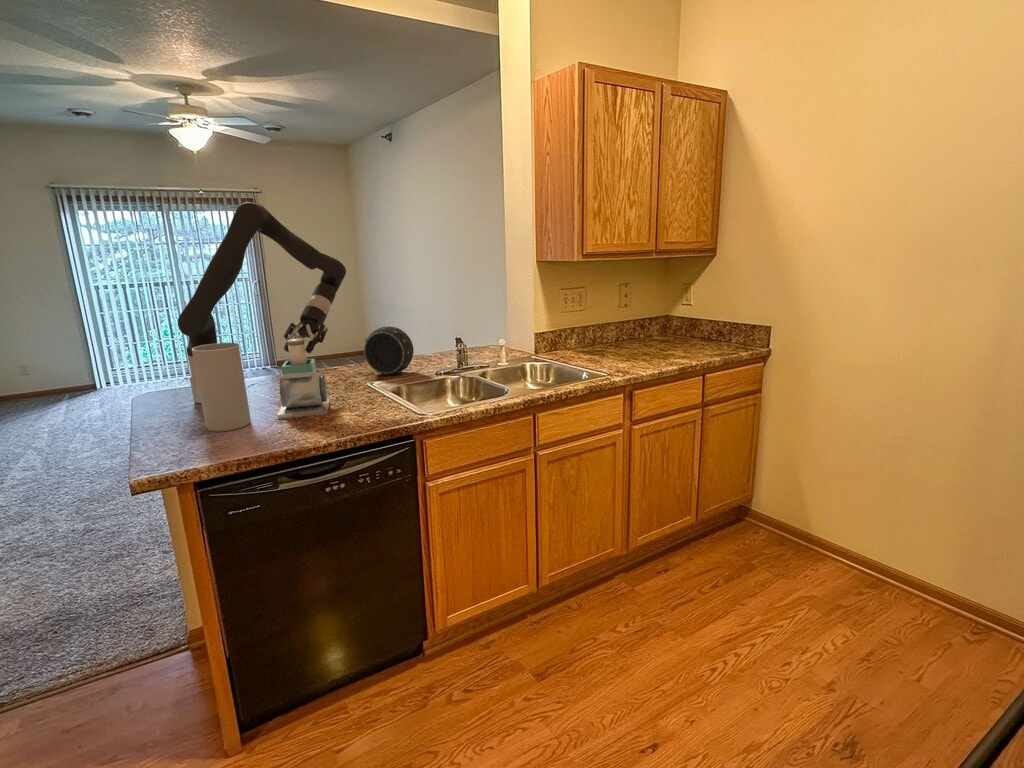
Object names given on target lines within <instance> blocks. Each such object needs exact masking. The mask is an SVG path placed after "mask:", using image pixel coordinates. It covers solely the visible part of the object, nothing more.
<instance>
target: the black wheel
mask: <svg viewBox="0 0 1024 768" xmlns="http://www.w3.org/2000/svg"><path fill="white" fill-rule="evenodd" d="M364 342H365V343H364V348H363V354H364V357H365V360H366V363H367V365H369V367H370V368H372V369H373V370H374V371H375V373H380V374H382V375H386V376H390V375H395V374H399V373H401V372H402V371H404V370H405V369H406V368H408V366H409V365H410V364H411V362H412V360H413V357H414V346H413V342H412V340H411V337H410V336H409V335H408V334H407V333H406V332H405V331H404V330H402V329H400V328H399V327H396V326H383V327H379V328H376V329H375V330H372V332H371V333H370V334H369V335H368V337H367V338H366V339H365V340H364Z"/></svg>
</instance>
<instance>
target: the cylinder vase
mask: <svg viewBox="0 0 1024 768" xmlns="http://www.w3.org/2000/svg"><path fill="white" fill-rule="evenodd" d="M192 354H193V359H194V365H195V370H196V376H197V381H198V387H199V392H200V398H201V403H200V404H201V407H202V413H203V417H204V418H203V419H204V424H205V428H206V430H208V431H210V432H215V433H217V432H218V433H219V432H220V433H222V432H230V431H235V430H240V429H242V428H244V427H247V426H248V425H250V423H251V420H252V419H251V412H250V406H249V401H248V394H247V388H246V383H245V382H246V381H245V380H246V379H245V375H244V368H243V362H242V356H241V350H240V343H236V342H217V343H216V344H208V345H202V346H197V347H194V348H192Z"/></svg>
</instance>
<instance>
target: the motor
mask: <svg viewBox="0 0 1024 768" xmlns="http://www.w3.org/2000/svg"><path fill="white" fill-rule="evenodd" d="M306 359H307V364H303V365H291V363H290V359H288V360H285V361H284V362H283V364H282V366H281V371H282V372H281V373H282V375H280V377H279V396H280V402H281V407H280V408H279V410H278V411H277V412H278V413H277V414H276V417H277V420H281V419H283V420H284V419H291V418H292V419H293V417H295V418H302V417H303V416H305V417H312V416H313V415H315V416H323V415H324V416H325V415H327V414H328V412H329V406H330V398H328V389H327V388H328V385H327V380H326V379H327V378H326V375H325V374H321V372H316V371H317V368H316V367H317V366H316V359H315V358H306ZM313 417H314V416H313ZM303 418H304V417H303Z"/></svg>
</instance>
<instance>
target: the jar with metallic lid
mask: <svg viewBox="0 0 1024 768" xmlns="http://www.w3.org/2000/svg"><path fill="white" fill-rule="evenodd" d="M286 342H287V343H288V349H289V352H288V356H289V360H290V363H291V365H303V364H307V359H308V358H307V352H306V351H305V349H306V347H305V345H306V344H305V338H297V339H293V338H292V339H290V340H286Z"/></svg>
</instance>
